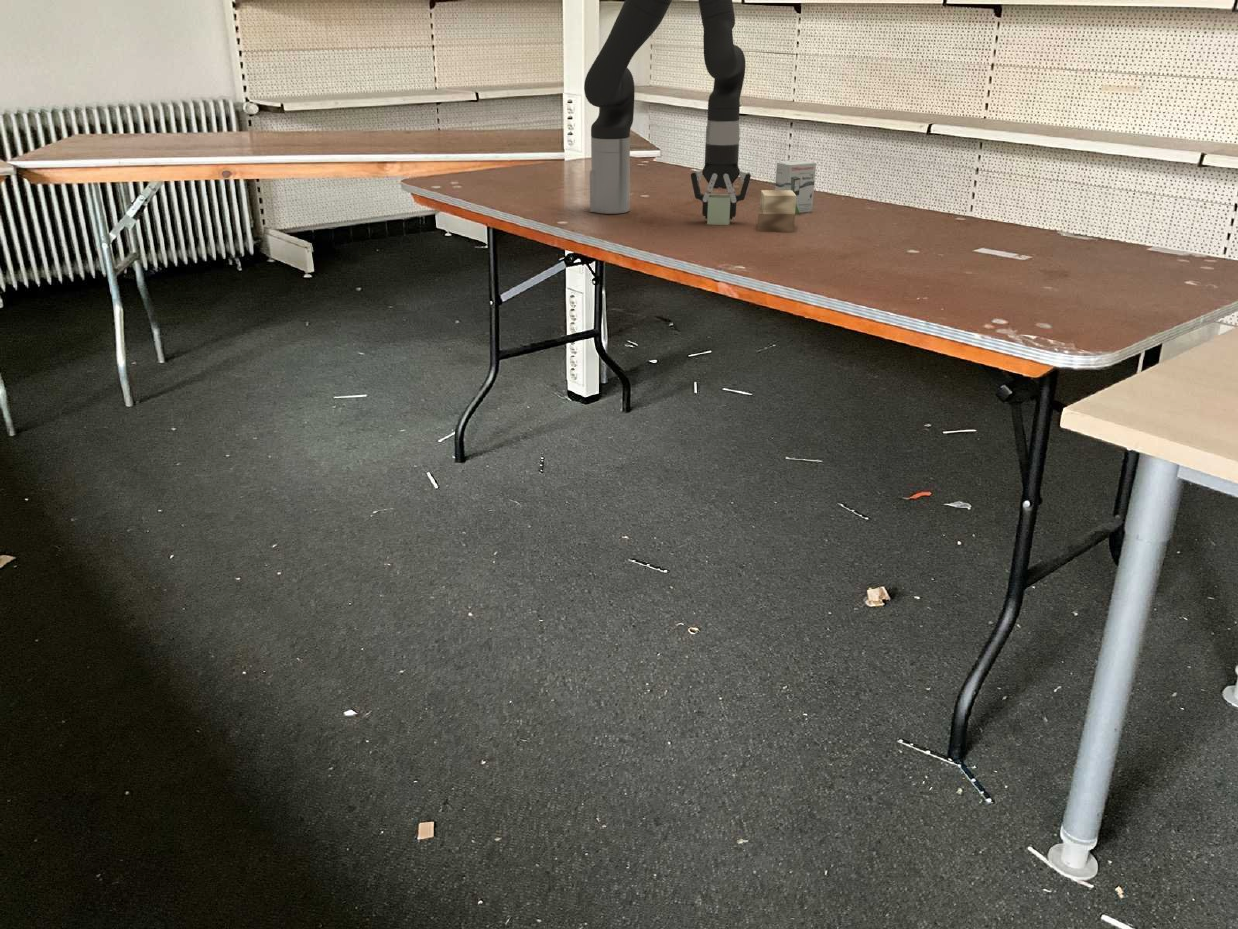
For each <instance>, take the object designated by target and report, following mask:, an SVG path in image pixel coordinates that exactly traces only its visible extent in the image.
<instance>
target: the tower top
mask: <svg viewBox="0 0 1238 929" xmlns="http://www.w3.org/2000/svg"><path fill="white" fill-rule="evenodd" d="M759 205H760V206H759V208H760V209H761V211H762V213H763V214H795V215H796V213H795V207H796V195H795V193H794V192H793V191H792V190H775V189H773V190H772V189H771V190H770V189H761V191H760V204H759Z"/></svg>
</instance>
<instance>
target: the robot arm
mask: <svg viewBox="0 0 1238 929" xmlns="http://www.w3.org/2000/svg"><path fill="white" fill-rule="evenodd" d="M672 1H673V0H624V2H623V4H622V6H621V8H620V11H619V13H618V15H617V17H616V19H615V21H614V23H613V25H612V28H611V30H610V32H609V35H608V37H607V38H606V40H605V42H604V44H603V46H602V48H601V49H600V51H599V53H598V55H597V56H596V57H595V60H594V61H593V63H591V66H590V68H589V69H588V72H587V74H586V77H585V78H584V87H583V89H584V90H583V91H584V94H585V99H586V100H587V102H588V103H589V104H590V105H592V106H594V107H597V108H599V114H598V116H597V118H596V119H595V121H594V122H593V123H592V124H591V127H590V141H591V142H590V143H591V144H590V147H591V148H590V150H591V151H590V153H591V159H590V160H591V169H590V171H589V213H598V214H606V215H608V214H624V213H627V212H630V205H631V204H630V203H631V200H630V199H631V198H630V192H631V188H630V186H631V185H630V182H631V181H630V178H631V175H630V174H631V173H630V172H631V170H630V169H631V167H630V166H631V165H630V164H631V160H630V159H631V157H630V156H631V155H630V154H631V152H630V151H631V147H630V146H631V145H630V144H631V129H632V126H633V122H634V113H635V111H634V110H635V94H636V93H635V89H636V88H635V81H634V76H633V73H632V72H631V71H630V69H629V68H628V66H629V64H630V62H631V61H632V59H633V57H634V56H635V54H636V53H637V51H638V50H639V49H640V48H641V47H642V46H643V45H644V44H645V43H646V41H647V40H648V39H650V37H651V36H652V35H653V34H654V32H655V31H656V30H657V29H658V27H659V26H660V25H661V23H662V21H663V19H664V17H665V16H666V13H667V11H668V9H669V8H670V5H671V3H672ZM697 1H698V7H699V12H700V18H701V23H702V26H703V27H702V28H703V57H704V65H705V68H706V71H707V73H708V74H709V75H710V76H711V77H712V78H713V79H714V82H713V89H712V92H711V93H710V94H709V97H708V101H707V120H706V128H705V145H704V147H705V149H704V167H703V168H702V170H698V171H695V170H694V171H692V172H691V174H690V178H691V184H692V189H693V194H694V197H695V199H696V200H700V201H701V202H702V210H701V211H702V212H701V213H702V216H703V217H704V219H707V215H708V197H709V196H710V194H712V191H713V189H722V190H723V189H724V190H727V192H728V194H729V195H730V197H731V198H730V199H731V203H730V220H733V218H735V217H736V215H737V203H738V202H740V201H744V200H745V198H746V193H747V191H748V187H749V184H750V181H751V176H752V174H751V173H750V172H743V171H741V170H740V168H739V153H740V140H741V137H740V133H741V132H740V110H741V109H740V107H741V102H740V101H741V95H742V90H743V85H744V81H745V74H746V57H745V54H744V51H743V50H742V48H741V47H739V46H738V45H736V44H734V36H733V29H734V27H735V25H736V16H735V10H734V5H733V0H697ZM702 176H703V177H704V179H705V180H706V182H707V183H708V185H707V187H706V190H705V193H702V192H701V187H700V183H699V182H700V181H701V179H702ZM738 178H740V182H741V183H742V186H741V190H740V193H739V194H737V193H736V191H735V186H734V182H736V180H737V179H738Z"/></svg>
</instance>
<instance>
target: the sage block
mask: <svg viewBox="0 0 1238 929" xmlns="http://www.w3.org/2000/svg"><path fill="white" fill-rule="evenodd" d="M730 198H731V197H730V195H729V193H728V194H725V193H722V194H721V193H711V194H710V196H709V197H708V215H707V221H706V225H716V226H717V225H720V226H730V222H731V219H730V203H731V199H730Z"/></svg>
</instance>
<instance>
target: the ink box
mask: <svg viewBox="0 0 1238 929" xmlns="http://www.w3.org/2000/svg"><path fill="white" fill-rule="evenodd" d="M816 167H817V162H815V161H810V160H807V159H794V160H793V159H791V160H779V161H778V162H776V171H775V181H774V182H775V186H774V190H792V191H793V192H794V193H795V195H796V207H795V214H802V213H804V214H805V213H810V212H811V213H812V212H813V206H814V205H813V203H814V191H815V190H814V189H815V180H816V169H817V168H816Z"/></svg>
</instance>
